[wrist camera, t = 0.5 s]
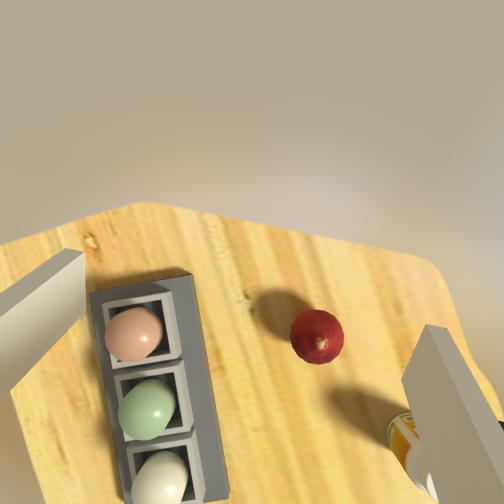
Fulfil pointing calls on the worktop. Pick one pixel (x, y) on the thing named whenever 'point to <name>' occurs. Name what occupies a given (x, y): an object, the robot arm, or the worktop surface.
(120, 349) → the terracotta button
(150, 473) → the cream button
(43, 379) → the worktop surface
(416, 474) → the supplement bottle
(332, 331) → the onion
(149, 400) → the sage button
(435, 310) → the worktop surface
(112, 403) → the button panel
